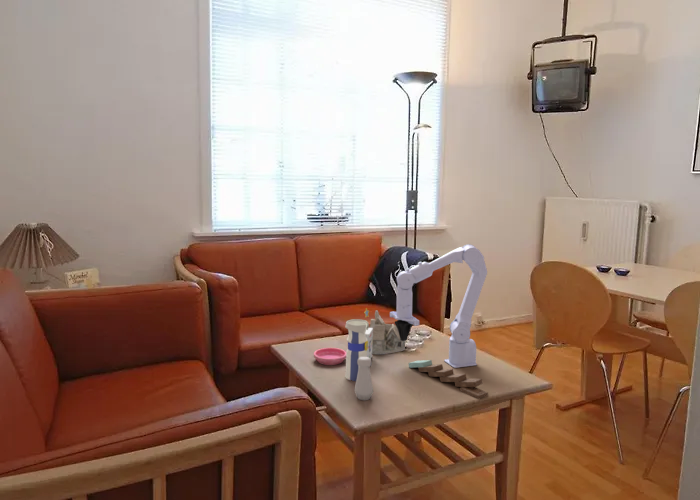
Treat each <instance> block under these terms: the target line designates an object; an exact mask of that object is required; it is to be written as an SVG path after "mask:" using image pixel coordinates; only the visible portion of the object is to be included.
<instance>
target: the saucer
mask: <svg viewBox="0 0 700 500" xmlns="http://www.w3.org/2000/svg"><path fill="white" fill-rule="evenodd" d="M346 353H347V350H344V349H342V348H338V347H322V348H319V349H316V350H315V351H314V352H313V357H314V358H315V360H316V361H317V362H318V363H319V364H321V365H326V366H335V365H339V364H341V363H343V361H344V360H345V361H346Z"/></svg>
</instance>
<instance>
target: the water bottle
mask: <svg viewBox="0 0 700 500" xmlns="http://www.w3.org/2000/svg"><path fill="white" fill-rule="evenodd" d="M369 313H370V310H368V308H367V307H366V308H365V311H364V312H363V314H365V316H364V317H365V319H366V318H369V317H370V316H369ZM365 319H358V318H357V319H356V318H355V319H349V320H346V322H345V326H344V327H345V329H347V331H348V336H347V337H346V341H347V349H346V352H347V353H346V358H345V379H347V380H349V381H351V380H352V382H356V380H357V375H358V369H359V366H358V363H357V360H358V358H360V357H367V349H368V341H367V338H366V335H365V332H366V329H367V330H368V328H369V326H370V324H369V323H370V322H368V321H367V320H365Z"/></svg>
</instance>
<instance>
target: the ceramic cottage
mask: <svg viewBox="0 0 700 500" xmlns="http://www.w3.org/2000/svg"><path fill="white" fill-rule="evenodd" d="M374 311H375V312H374V318H371V319H370V322H369V323H370V324H369V328H373V344H372V355H387V354H391V353H392V354H393V353H398V352H402V351H406V349H405V344H406V341H407V340H405V341H402V340H400V336H399V332H398V329H397V327H396V325H395V323H392V324H391V323H386V322H385V321H384V319H383V318H382V317H381V315H380V314H379V313H380V312H379V311H378V310H374Z"/></svg>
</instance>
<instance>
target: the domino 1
mask: <svg viewBox="0 0 700 500" xmlns="http://www.w3.org/2000/svg"><path fill="white" fill-rule="evenodd" d="M432 361H433V360H432V359H429V360H425V359H424V360H423V359H422V360H415V361H411V362H408V367H409V368H410V369H411V368H418V367H426V366H429V365H433V362H432Z"/></svg>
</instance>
